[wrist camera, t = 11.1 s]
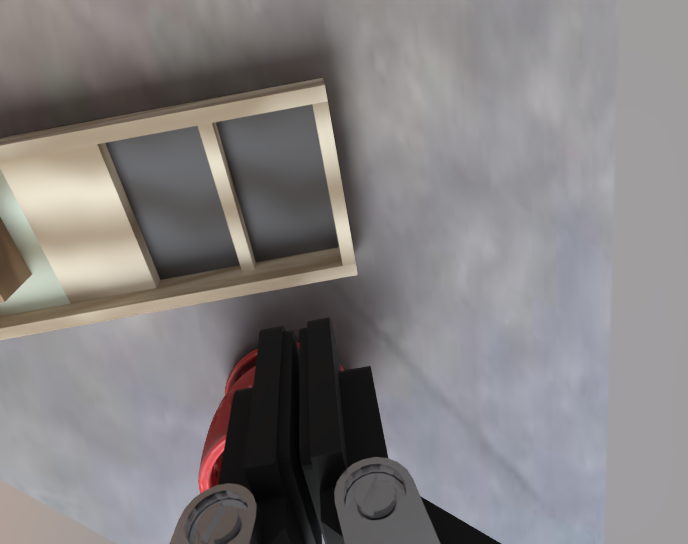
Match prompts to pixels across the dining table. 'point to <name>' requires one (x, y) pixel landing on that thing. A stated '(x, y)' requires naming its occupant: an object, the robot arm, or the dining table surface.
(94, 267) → the track
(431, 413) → the dining table surface
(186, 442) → the dining table surface
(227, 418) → the plant pot
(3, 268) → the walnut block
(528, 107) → the dining table surface
